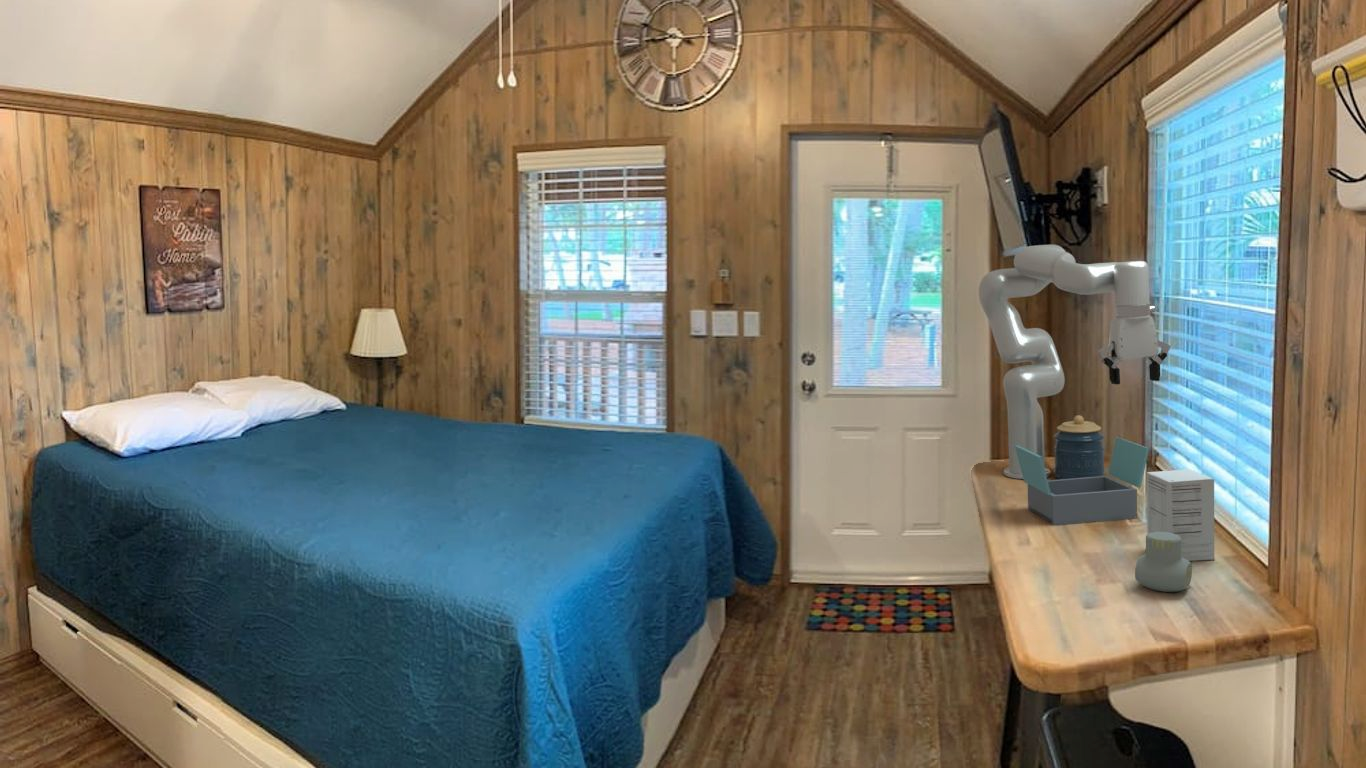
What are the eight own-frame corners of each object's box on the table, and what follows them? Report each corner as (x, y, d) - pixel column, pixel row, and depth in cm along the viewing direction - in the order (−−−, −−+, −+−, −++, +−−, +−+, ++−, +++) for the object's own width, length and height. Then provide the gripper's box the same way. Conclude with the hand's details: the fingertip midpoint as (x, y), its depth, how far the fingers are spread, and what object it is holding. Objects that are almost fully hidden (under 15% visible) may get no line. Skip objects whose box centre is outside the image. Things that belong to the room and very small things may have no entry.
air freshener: (1145, 574, 172) (1145, 525, 170) (1193, 581, 166) (1194, 530, 165) (1132, 592, 163) (1132, 541, 162) (1182, 600, 158) (1182, 547, 157)
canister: (1057, 482, 242) (1056, 420, 239) (1051, 471, 254) (1050, 411, 252) (1108, 482, 238) (1108, 419, 236) (1100, 471, 250) (1100, 410, 248)
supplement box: (1216, 560, 176) (1216, 479, 174) (1169, 563, 177) (1169, 482, 174) (1189, 545, 186) (1189, 468, 184) (1145, 548, 186) (1145, 471, 184)
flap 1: (1026, 480, 218) (1024, 481, 218) (1017, 444, 217) (1014, 445, 217) (1051, 494, 205) (1048, 495, 205) (1041, 456, 204) (1038, 457, 204)
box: (1028, 509, 219) (1027, 482, 219) (1106, 502, 220) (1106, 475, 219) (1053, 525, 206) (1053, 496, 205) (1137, 518, 206) (1136, 489, 205)
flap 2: (1116, 437, 218) (1118, 437, 218) (1107, 474, 219) (1110, 474, 219) (1146, 447, 204) (1149, 448, 204) (1138, 487, 205) (1140, 487, 205)
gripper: (1159, 309, 216) (1161, 377, 218) (1089, 315, 216) (1092, 383, 218) (1176, 309, 209) (1179, 380, 210) (1104, 315, 208) (1107, 386, 210)
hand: (1135, 382), depth 214 cm, fingers open, 9 cm apart
